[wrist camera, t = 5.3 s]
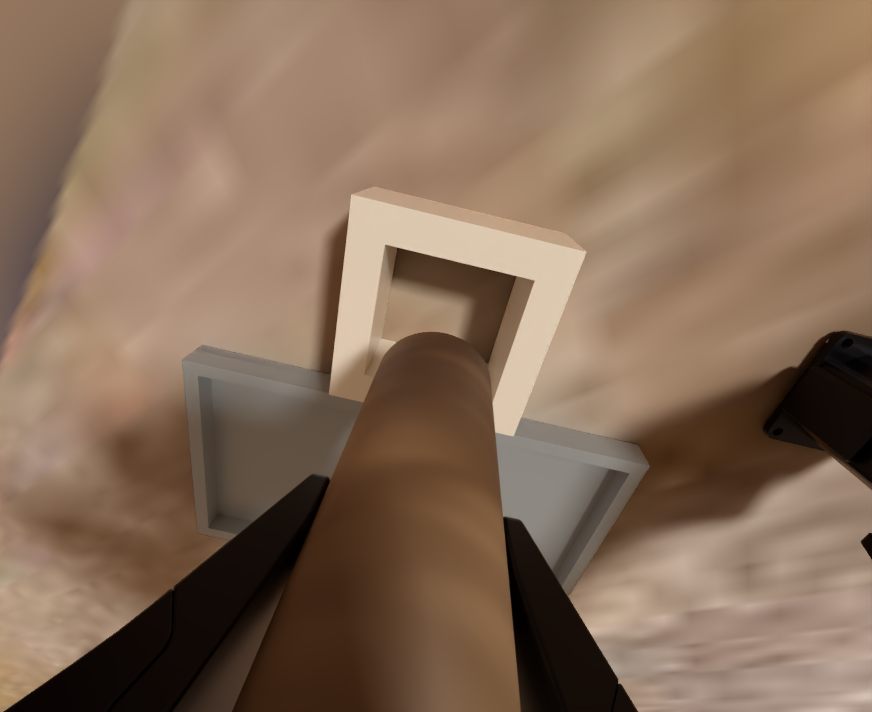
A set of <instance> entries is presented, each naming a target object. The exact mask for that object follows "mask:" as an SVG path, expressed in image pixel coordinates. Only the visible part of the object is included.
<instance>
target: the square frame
mask: <svg viewBox="0 0 872 712" xmlns="http://www.w3.org/2000/svg"><path fill="white" fill-rule="evenodd" d="M397 248H402V249H406V250H410V251H414V252H418V253H422V254H427V255H431V256H435V257H439V258H443V259H447V260H452V261H456V262H460V263H464V264H468V265H472V266H476V267H481V268H485V269H489V270H493V271H497V272H501V273H506V274H510V275H514V276H516V279H515V282H514V285H513V289H512V292H511V295H510V298H509V301H508V304H507V307H506V310H505V313H504V316H503V320H502V323H501V326H500V329H499V332H498V335H497V338H496V341H495V344H494V347H493V350H492V354H491V357H490V360H489V363H486V365H487V368H488V370H489V375H490V381H491V392H492V403H493V414H494V425H495V432H496V433H500V434H505V435H509V436H513V437H514V434H515V431H516V429H517V426H518V424H519V421H520V419H521V416H522V414H523V411H524V409H525V406H526V404H527V401H528V399H529V396H530V394H531V391H532V389H533V386H534V383H535V381H536V378H537V376H538V373H539V371H540V368H541V366H542V363H543V361H544V358H545V356H546V353H547V351H548V348H549V346H550V343H551V341H552V338H553V335H554V333H555V330H556V328H557V325H558V323H559V320H560V318H561V315H562V313H563V310H564V308H565V305H566V303H567V300H568V298H569V295H570V293H571V290H572V287H573V285H574V282H575V280H576V277H577V275H578V272H579V270H580V267H581V265H582V262H583V260H584V257H585V255H586V251H585V250H584V249H583V248H581V247H580V246H579V245H578V244H577V243H575V242H574V241H573V240H572V239H571V238H569V237H568V236H567V235H566V234H565V233H562V232H558V231H554V230H550V229H546V228H542V227H538V226H534V225H530V224H525V223H521V222H517V221H513V220H509V219H505V218H501V217H497V216H493V215H489V214H485V213H481V212H477V211H472V210H468V209H464V208H460V207H456V206H452V205H448V204H444V203H440V202H436V201H432V200H428V199H424V198H419V197H415V196H411V195H407V194H403V193H399V192H395V191H391V190H387V189H383V188H379V187H372V188H369V189H366V190H363V191H360V192H357V193H354V194H352V195H351V204H350V212H349V221H348V230H347V239H346V248H345V257H344V265H343V274H342V283H341V292H340V301H339V310H338V318H337V327H336V336H335V345H334V354H333V363H332V372H331V380H330V389H329V395H333V396H337V397H341V398H346V399H350V400H355V401H359V402H364V400H365V398H366V395H367V393H368V391H369V388H370V386H371V384H372V381H373V379H374V377H375V374H376V372H377V369H378V367H379V365H380V362H381V360H382V358H383V357H384V355H385V353H386V352H387V351H388V350H389V349H390V348H391V347H392V346H393V345H394V344H395V343H397V342H394V341H389V340H385V339H382V333H383V327H384V322H385V316H386V310H387V304H388V299H389V293H390V287H391V281H392V276H393V270H394V264H395V258H396V253H397Z"/></svg>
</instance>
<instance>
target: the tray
mask: <svg viewBox="0 0 872 712" xmlns="http://www.w3.org/2000/svg"><path fill="white" fill-rule="evenodd" d="M182 366H183V377H184V388H185V399H186V411H187V422H188V433H189V444H190V456H191V467H192V478H193V489H194V501H195V512H196V523H197V533H198V534H202V535H207V536H212V537H216V538H221V539H226V540H231V539H232V538H234V537H235V536H236V535H237V534H239V533H240V532H241V531H242V530H243V529H245V528H246V527H247V526H248V525H250V524H251V523H252V522H253V521H254V520H256V519H257V518H258V517H259V516H261V515H262V514H263V513H264V512H265V511H267V510H268V509H269V508H270V507H272V506H273V505H274V504H275V503H276V502H278V501H279V500H280V499H281V498H282V497H284V496H285V495H286V494H287V493H289V492H290V491H291V490H292V489H293V488H295V487H296V486H297V485H298V484H300V483H301V482H302V481H303V480H304V479H306V478H307V477H308V476H309V475H311V474H319V475H324V476H328V477H329V478H330V480H331V478H332V475H333V473H334V471H335V468H336V466H337V464H338V461H339V459H340V456H341V454H342V452H343V449H344V447H345V445H346V442H347V440H348V438H349V435H350V433H351V431H352V428H353V426H354V424H355V421H356V419H357V417H358V414H359V412H360V409H361V407H362V405H363V402H359V401H355V400H350V399H346V398H341V397H337V396H333V395H329V389H330V380H331V375H330V374H326V373H322V372H317V371H313V370H308V369H304V368H300V367H295V366H291V365H287V364H282V363H278V362H273V361H269V360H265V359H260V358H256V357H252V356H247V355H243V354H238V353H234V352H230V351H225V350H221V349H217V348H212V347H208V346H203V345H202V346H200V347H199V348H198V349H196V350H195V351H193V352H192V353H191V354H189V355H188V356H187V357H185V358H184V359H182ZM495 436H496V446H497V457H498V468H499V479H500V490H501V501H502V511H503V517H504V516H507V517H512V518H516V519H520V520H521V521H522V522H523V524H524V525H525V527H526V529H527V530H528V532H529V533H530V535H531V537H532V538H533V540H534V542H535V543H536V545H537V547H538V548H539V550H540V552H541V553H542V555H543V556H544V558H545V560H546V561H547V563H548V565H549V566H550V568H551V570H552V571H553V573H554V575H555V576H556V578H557V580H558V581H559V583H560V584H561V586H562V588H563V589H564V591H565V593H566V594H567V596H569V594H570V593H571V591H572V590H573V588H574V586H575V585H576V583H577V582H578V580H579V579H580V577H581V575H582V574H583V572H584V571H585V569H586V567H587V566H588V564H589V563H590V561H591V559H592V558H593V556H594V555H595V553H596V551H597V550H598V548H599V547H600V545H601V543H602V542H603V540H604V539H605V537H606V536H607V534H608V532H609V531H610V529H611V528H612V526H613V524H614V523H615V521H616V520H617V518H618V516H619V515H620V513H621V512H622V510H623V508H624V507H625V505H626V504H627V502H628V500H629V499H630V497H631V496H632V494H633V492H634V491H635V489H636V488H637V486H638V485H639V483H640V481H641V480H642V478H643V477H644V475H645V473H646V472H647V470H648V469H649V467H650V465H649V463H648V461H647V460H646V458H645V456H644V454H643V453H642V451H641V449H640V448H639V446H638V445H637V444H632V443H628V442H624V441H619V440H615V439H610V438H606V437H602V436H597V435H593V434H589V433H584V432H580V431H575V430H571V429H567V428H562V427H558V426H554V425H549V424H545V423H540V422H536V421H532V420H527V419H523V418H521V419H520V421H519V424H518V426H517V429H516V431H515V434H514V437H513V436H509V435H505V434H500V433H496V432H495Z"/></svg>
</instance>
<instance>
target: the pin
mask: <svg viewBox="0 0 872 712" xmlns="http://www.w3.org/2000/svg"><path fill="white" fill-rule="evenodd" d="M232 712H521V706H520V696H519V685H518V674H517V663H516V652H515V641H514V631H513V620H512V609H511V598H510V587H509V576H508V566H507V555H506V544H505V533H504V522H503V511H502V501H501V490H500V479H499V468H498V457H497V446H496V436H495V425H494V414H493V403H492V392H491V381H490V375H489V370H488V368H487V365H486V363H485V361H484V359H483V358H482V357H481V355H480V354H479V353H478V352H477V351H476V350H475V349H474V348H473V347H472V346H471V345H470V344H468V343H467V342H465V341H463V340H462V339H460V338H457V337H455V336H452V335H449V334H445V333H440V332H423V333H417V334H413V335H410V336H408V337H405V338H403V339H401V340H400V341H398V342H397V343H395V344H394V345H393V346H392V347H391V348H390V349H389V350H388V351H387V352H386V353H385V355H384V357H383V358H382V360H381V362H380V365H379V367H378V369H377V372H376V374H375V377H374V379H373V381H372V384H371V386H370V388H369V391H368V393H367V395H366V398H365V400H364V402H363V405H362V407H361V409H360V412H359V414H358V417H357V419H356V421H355V424H354V426H353V428H352V431H351V433H350V435H349V438H348V440H347V442H346V445H345V447H344V449H343V452H342V454H341V456H340V459H339V461H338V464H337V466H336V468H335V471H334V473H333V475H332V478H331V480H330V482H329V485H328V487H327V489H326V492H325V494H324V497H323V499H322V501H321V504H320V506H319V508H318V511H317V513H316V515H315V518H314V520H313V522H312V525H311V527H310V529H309V532H308V534H307V537H306V539H305V541H304V544H303V546H302V548H301V551H300V553H299V555H298V558H297V560H296V562H295V565H294V567H293V569H292V572H291V574H290V576H289V579H288V581H287V584H286V586H285V588H284V591H283V593H282V595H281V598H280V600H279V602H278V605H277V607H276V609H275V612H274V614H273V616H272V619H271V621H270V623H269V626H268V628H267V631H266V633H265V635H264V638H263V640H262V642H261V645H260V647H259V649H258V652H257V654H256V656H255V659H254V661H253V663H252V666H251V668H250V671H249V673H248V675H247V678H246V680H245V682H244V685H243V687H242V689H241V692H240V694H239V696H238V699H237V701H236V703H235V706H234V708H233V711H232Z"/></svg>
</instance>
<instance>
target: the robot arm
mask: <svg viewBox="0 0 872 712" xmlns="http://www.w3.org/2000/svg"><path fill="white" fill-rule="evenodd" d="M844 340H846V341H845V342H844V343H843V344H842V342H843V341H844ZM775 429H776V430H775ZM763 431H764V433H765V434H766V435H768V436H769V437H770V438H772V439H776V440H780V441H784V442H789V443H793V444H797V445H802V446H806V447H810V448H815V449H819V450H823V451H826V452H827V453H828V454H829V455H831V456H832V457H833V458H834V459H835V460H836V461H838V462H839V463H840V464H841V465H842V466H844V467H845V468H846V469H847V470H848V471H850V472H851V473H852V474H853V475H854V476H856V477H857V478H858V479H859V480H860V481H862V482H863V483H864V484H865V485H866V486H868V487H869V488H870V489H871V490H872V337H870V336H866V335H862V334H858V333H853V332H849V331H841V332H838V333H836V334H834V335H833V336H832V337H831V338H830V339H829V341H828V342H827V343H826V345H825V346H824V347H823V349H822V350H821V351H820V353H819V354H818V355H817V357H816V358H815V359H814V361H813V362H812V363H811V365H810V366H809V367H808V368H807V370H806V371H805V372H804V374H803V375H802V376H801V378H800V379H799V380H798V382H797V383H796V384H795V386H794V387H793V388H792V390H791V391H790V392H789V394H788V395H787V396H786V398H785V399H784V400H783V401H782V403H781V404H780V405H779V407H778V408H777V409H776V411H775V412H774V413H773V415H772V416H771V417H770V419H769V420H768V421H767V423H766V424H765V425H764V427H763ZM329 482H330V478H329V477H328V476H324V475H319V474H311V475H309V476H308V477H307V478H306V479H304V480H303V481H302V482H301V483H300V484H298V485H297V486H296V487H295V488H293V489H292V490H291V491H290V492H289V493H287V494H286V495H285V496H284V497H282V498H281V499H280V500H279V501H278V502H276V503H275V504H274V505H273V506H272V507H270V508H269V509H268V510H267V511H265V512H264V513H263V514H262V515H261V516H259V517H258V518H257V519H256V520H254V521H253V522H252V523H251V524H250V525H248V526H247V527H246V528H245V529H243V530H242V531H241V532H240V533H239V534H237V535H236V536H235V537H234V538H232V539H231V540H230V541H229V542H228V543H226V544H225V545H224V546H223V547H221V548H220V549H219V550H218V551H217V552H215V553H214V554H213V555H212V556H210V557H209V558H208V559H207V560H206V561H204V562H203V563H202V564H201V565H199V566H198V567H197V568H196V569H195V570H193V571H192V572H191V573H190V574H188V575H187V576H186V577H185V578H184V579H182V580H181V581H180V582H179V583H177V584H176V585H175V586H174V591H173V590H172V589H171V590H169V591H167V592H166V593H165V594H164V595H163V596H161V597H160V598H159V599H158V600H156V601H155V602H154V603H153V604H152V605H150V606H149V607H148V608H147V609H145V610H144V611H143V612H142V613H140V614H139V615H138V616H136V617H135V618H134V619H133V620H131V621H130V622H129V623H127V624H126V625H125V626H124V627H122V628H121V629H120V630H119V631H117V632H116V633H114V634H113V635H112V636H110V637H109V638H108V639H106V640H105V641H103V642H102V643H101V644H99V645H98V646H96V647H95V648H94V649H92V650H91V651H89V652H88V653H87V654H85V655H84V656H83V657H81V658H80V659H78V660H77V661H75V662H74V663H73V664H71V665H70V666H68V667H67V668H65V669H64V670H63V671H61V672H60V673H58V674H57V675H55V676H54V677H53V678H51V679H50V680H48V681H47V682H45V683H44V684H42V685H41V686H40V687H38V688H37V689H35V690H34V691H32V692H31V693H30V694H28V695H27V696H25V697H24V698H22V699H21V700H20V701H18V702H17V703H15V704H14V705H12V706H11V707H9V708H8V709H7V710H5V711H4V712H232V711H233V708H234V706H235V703H236V701H237V699H238V696H239V694H240V692H241V689H242V687H243V685H244V682H245V680H246V678H247V675H248V673H249V671H250V668H251V666H252V663H253V661H254V659H255V656H256V654H257V652H258V649H259V647H260V645H261V642H262V640H263V638H264V635H265V633H266V631H267V628H268V626H269V623H270V621H271V619H272V616H273V614H274V612H275V609H276V607H277V605H278V602H279V600H280V598H281V595H282V593H283V591H284V588H285V586H286V584H287V581H288V579H289V576H290V574H291V572H292V569H293V567H294V565H295V562H296V560H297V558H298V555H299V553H300V551H301V548H302V546H303V544H304V541H305V539H306V537H307V534H308V532H309V529H310V527H311V525H312V522H313V520H314V518H315V515H316V513H317V511H318V508H319V506H320V504H321V501H322V499H323V497H324V494H325V492H326V489H327V487H328V485H329ZM503 522H504V533H505V544H506V555H507V566H508V576H509V587H510V598H511V609H512V620H513V631H514V641H515V652H516V663H517V674H518V685H519V696H520V706H521V712H638V711H637V709H636V707H635V706H634V704H633V703H632V701H631V699H630V698H629V696H628V694H627V693H626V691H625V689H624V688H623V686H622V685H621V684H618V678H617V677H616V675H615V673H614V672H613V670H612V668H611V667H610V665H609V663H608V662H607V660H606V658H605V657H604V655H603V654H602V652H601V650H600V649H599V647H598V645H597V644H596V642H595V640H594V639H593V637H592V635H591V634H590V632H589V630H588V629H587V627H586V626H585V624H584V622H583V621H582V619H581V617H580V616H579V614H578V612H577V611H576V609H575V607H574V606H573V604H572V603H571V601H570V599H569V598H568V596H567V594H566V593H565V591H564V589H563V588H562V586H561V584H560V583H559V581H558V580H557V578H556V576H555V575H554V573H553V571H552V570H551V568H550V566H549V565H548V563H547V561H546V560H545V558H544V556H543V555H542V553H541V552H540V550H539V548H538V547H537V545H536V543H535V542H534V540H533V538H532V537H531V535H530V533H529V532H528V530H527V529H526V527H525V525H524V524H523V522H522V521H521V520H520V519H516V518H512V517H507V516H504V517H503ZM861 544H862V545H863V547H864V548H865V550H866V551H867V553H868V554H869V556H870V557H871V559H872V533H869V534H868V535H867V536H866V537H865V538H864V539H863V540H862V541H861Z"/></svg>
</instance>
